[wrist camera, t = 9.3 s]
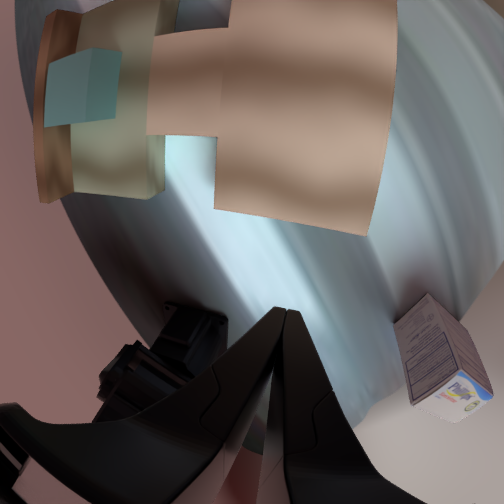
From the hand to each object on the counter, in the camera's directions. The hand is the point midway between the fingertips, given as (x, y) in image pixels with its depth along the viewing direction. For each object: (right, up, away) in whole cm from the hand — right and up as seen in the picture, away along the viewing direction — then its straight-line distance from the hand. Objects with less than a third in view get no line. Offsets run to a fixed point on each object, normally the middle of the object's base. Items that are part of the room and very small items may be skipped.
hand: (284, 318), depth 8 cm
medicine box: (+15, -4, +11) cm, 20 cm away
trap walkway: (-5, +13, +7) cm, 16 cm away
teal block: (-13, +14, +6) cm, 20 cm away
